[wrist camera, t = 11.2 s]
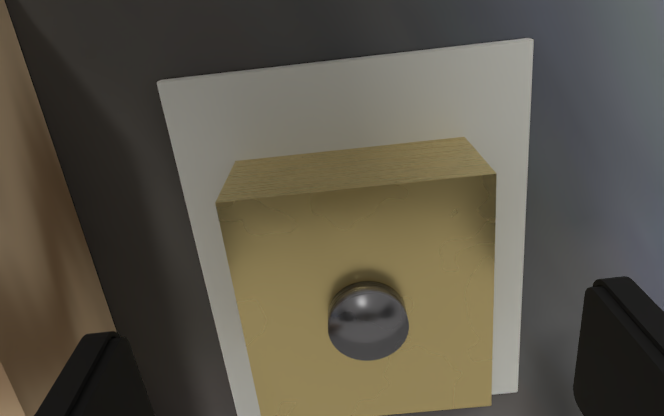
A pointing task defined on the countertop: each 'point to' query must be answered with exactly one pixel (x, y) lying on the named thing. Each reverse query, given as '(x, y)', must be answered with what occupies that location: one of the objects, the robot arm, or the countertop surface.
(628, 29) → the countertop surface
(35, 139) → the plane body
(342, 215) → the lever cap
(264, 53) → the countertop surface
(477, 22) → the countertop surface
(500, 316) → the mat
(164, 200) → the countertop surface
